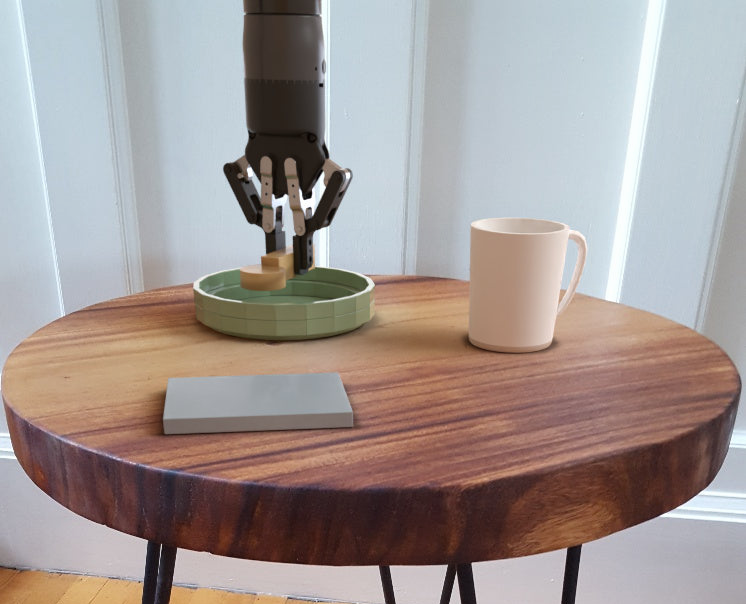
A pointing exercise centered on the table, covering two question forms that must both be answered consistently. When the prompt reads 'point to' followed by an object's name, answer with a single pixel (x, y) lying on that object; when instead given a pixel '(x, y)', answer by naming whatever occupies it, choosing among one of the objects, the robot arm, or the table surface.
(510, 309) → the mug
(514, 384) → the table surface
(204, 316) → the pan
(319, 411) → the board
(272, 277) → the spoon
